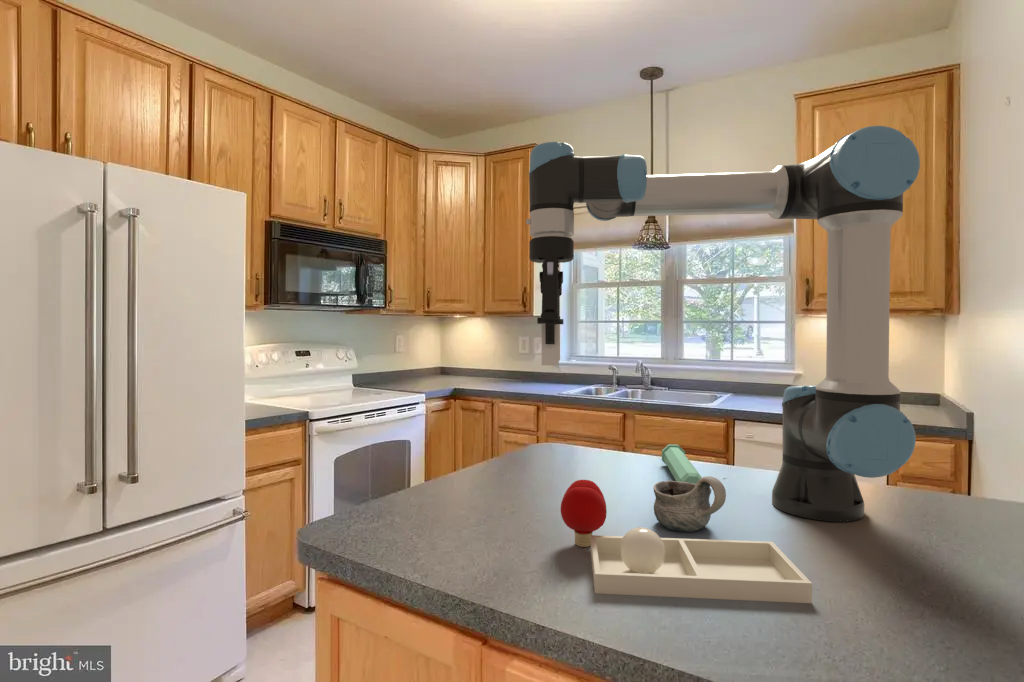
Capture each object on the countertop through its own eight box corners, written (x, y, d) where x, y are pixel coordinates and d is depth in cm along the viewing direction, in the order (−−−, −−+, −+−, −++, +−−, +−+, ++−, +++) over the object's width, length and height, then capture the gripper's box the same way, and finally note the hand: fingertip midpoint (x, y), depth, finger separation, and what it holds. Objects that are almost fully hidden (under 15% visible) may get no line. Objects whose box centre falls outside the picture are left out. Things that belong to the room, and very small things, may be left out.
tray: (772, 562, 80) (772, 541, 79) (811, 607, 67) (812, 583, 67) (590, 555, 82) (590, 535, 82) (594, 597, 69) (594, 574, 69)
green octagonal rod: (701, 467, 110) (679, 440, 135) (673, 477, 111) (657, 448, 136) (713, 494, 110) (689, 462, 135) (685, 505, 111) (666, 470, 136)
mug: (671, 515, 100) (671, 460, 100) (740, 533, 91) (740, 473, 91) (642, 529, 93) (642, 470, 93) (713, 550, 84) (713, 485, 84)
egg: (660, 563, 78) (661, 521, 78) (668, 583, 72) (668, 537, 72) (617, 562, 78) (617, 520, 78) (622, 581, 72) (622, 536, 72)
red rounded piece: (605, 562, 80) (605, 494, 79) (557, 558, 81) (557, 491, 81) (607, 538, 89) (607, 477, 88) (564, 535, 90) (564, 474, 90)
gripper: (534, 248, 107) (534, 358, 107) (523, 224, 82) (523, 367, 82) (573, 248, 106) (573, 358, 106) (574, 223, 81) (574, 367, 81)
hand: (551, 362), depth 94 cm, fingers open, 13 cm apart
